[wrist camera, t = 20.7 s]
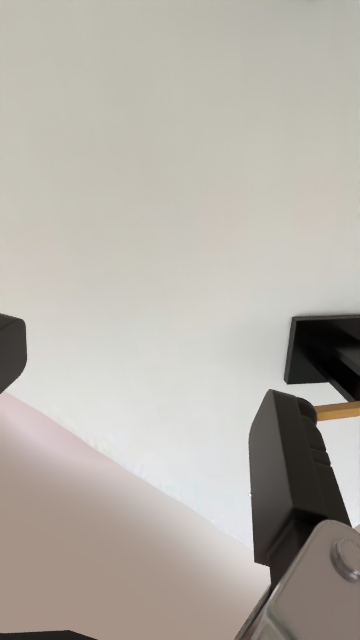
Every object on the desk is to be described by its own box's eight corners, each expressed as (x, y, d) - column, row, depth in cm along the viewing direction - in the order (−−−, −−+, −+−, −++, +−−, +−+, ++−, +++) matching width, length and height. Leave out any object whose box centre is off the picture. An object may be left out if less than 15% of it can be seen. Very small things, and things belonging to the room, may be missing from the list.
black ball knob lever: (270, 420, 31) (286, 446, 28) (273, 391, 30) (291, 415, 26) (389, 406, 33) (419, 428, 30) (398, 378, 32) (429, 398, 28)
